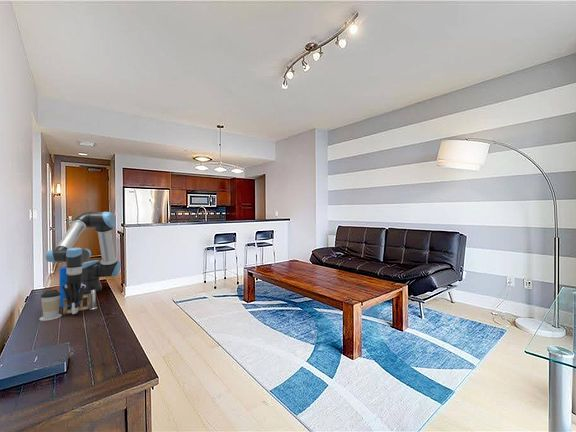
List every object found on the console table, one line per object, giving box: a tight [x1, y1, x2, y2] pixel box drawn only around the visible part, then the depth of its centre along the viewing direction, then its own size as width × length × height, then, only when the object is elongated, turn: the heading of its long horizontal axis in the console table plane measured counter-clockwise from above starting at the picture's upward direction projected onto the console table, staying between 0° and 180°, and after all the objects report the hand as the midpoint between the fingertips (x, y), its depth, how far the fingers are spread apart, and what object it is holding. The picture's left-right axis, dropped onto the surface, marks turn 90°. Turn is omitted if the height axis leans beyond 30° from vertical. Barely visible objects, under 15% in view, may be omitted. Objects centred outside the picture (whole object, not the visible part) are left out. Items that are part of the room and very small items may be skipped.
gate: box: [62, 293, 91, 315], centre depth 176 cm, size 14×1×9 cm, turn 146°
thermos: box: [58, 266, 80, 308], centre depth 190 cm, size 11×11×25 cm
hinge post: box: [88, 290, 98, 311], centre depth 183 cm, size 4×4×12 cm
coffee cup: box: [40, 289, 61, 319], centre depth 168 cm, size 9×9×15 cm
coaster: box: [39, 313, 62, 322], centre depth 168 cm, size 10×10×1 cm
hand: (74, 313), depth 172 cm, fingers closed
